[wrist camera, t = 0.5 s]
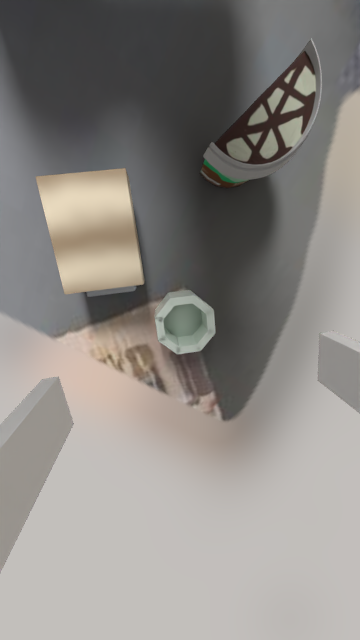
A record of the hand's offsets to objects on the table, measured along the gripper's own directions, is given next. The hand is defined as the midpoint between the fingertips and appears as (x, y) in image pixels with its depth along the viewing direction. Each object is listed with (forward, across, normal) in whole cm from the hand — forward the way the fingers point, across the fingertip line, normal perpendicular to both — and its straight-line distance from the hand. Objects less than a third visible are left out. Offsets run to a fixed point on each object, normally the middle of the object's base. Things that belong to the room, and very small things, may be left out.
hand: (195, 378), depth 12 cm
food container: (+24, +12, +16) cm, 31 cm away
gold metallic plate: (+20, -7, +9) cm, 23 cm away
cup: (+23, +1, -3) cm, 23 cm away
